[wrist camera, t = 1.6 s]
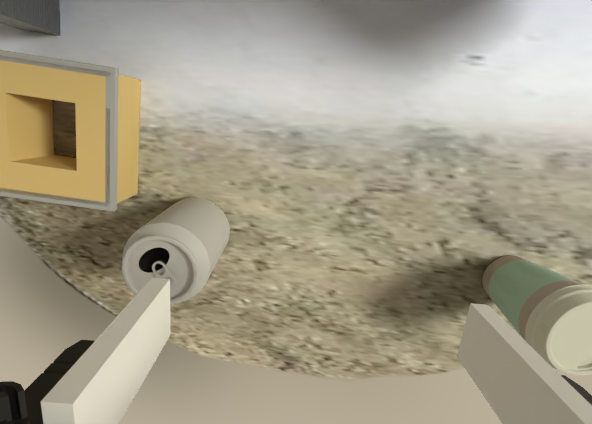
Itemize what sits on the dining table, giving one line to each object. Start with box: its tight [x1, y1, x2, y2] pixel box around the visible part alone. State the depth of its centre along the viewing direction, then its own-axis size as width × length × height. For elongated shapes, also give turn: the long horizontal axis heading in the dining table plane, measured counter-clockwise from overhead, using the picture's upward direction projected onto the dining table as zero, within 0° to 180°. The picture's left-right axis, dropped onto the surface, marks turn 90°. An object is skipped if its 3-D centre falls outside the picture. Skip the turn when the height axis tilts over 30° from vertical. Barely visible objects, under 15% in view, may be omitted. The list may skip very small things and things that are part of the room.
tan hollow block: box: [0, 50, 141, 211], centre depth 33 cm, size 13×13×6 cm
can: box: [122, 197, 230, 305], centre depth 33 cm, size 8×8×12 cm
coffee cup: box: [482, 256, 592, 375], centre depth 35 cm, size 8×8×12 cm
